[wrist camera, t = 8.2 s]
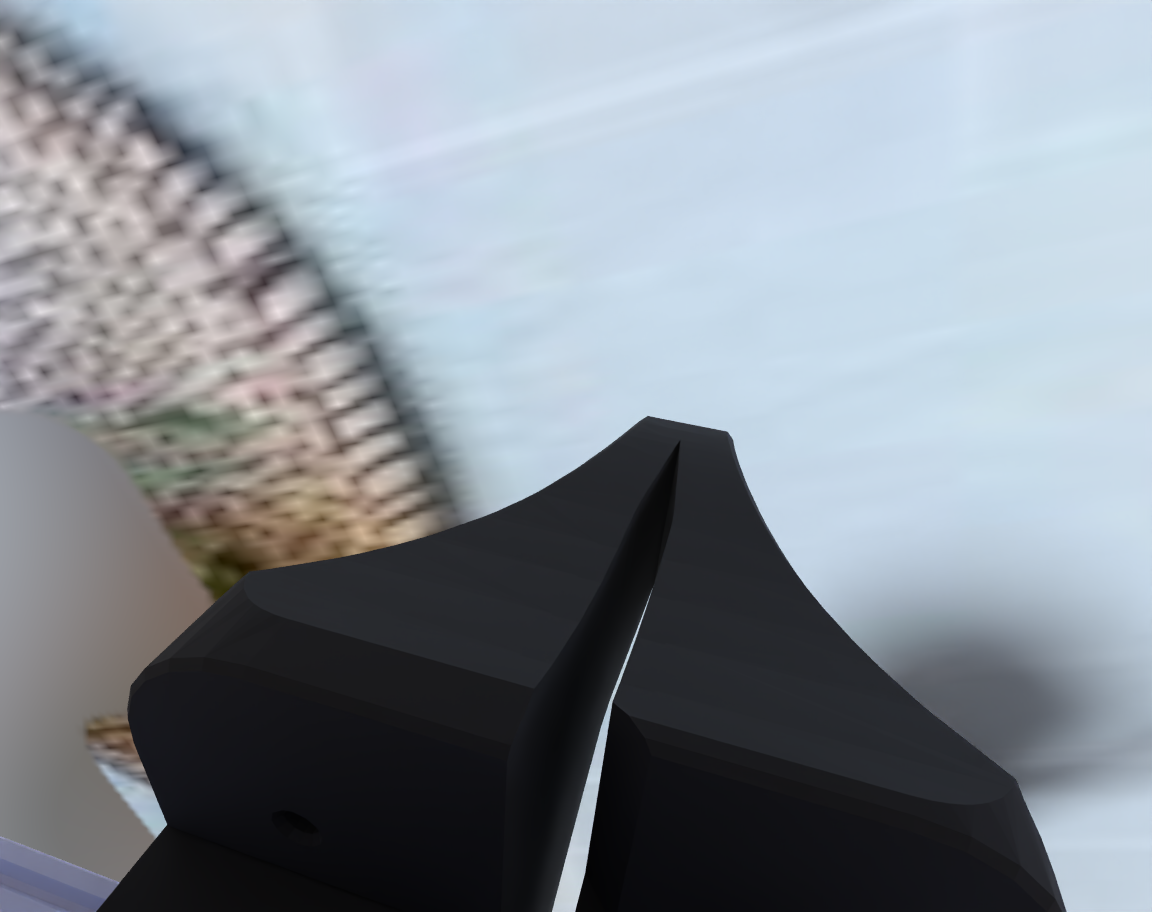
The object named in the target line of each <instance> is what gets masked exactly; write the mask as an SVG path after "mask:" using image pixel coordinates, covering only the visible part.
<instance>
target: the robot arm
mask: <svg viewBox="0 0 1152 912" xmlns="http://www.w3.org/2000/svg"><path fill="white" fill-rule="evenodd" d="M653 585H654V586H653ZM652 588H653V589H652ZM651 591H652V592H651ZM650 593H651V595H650ZM649 596H650V598H649ZM648 599H649V601H648ZM647 601H648V604H647ZM646 604H647V607H646ZM645 607H646V610H645V613H644V616H643V619H642V622H641V625H640V628H639V631H638V634H637V637H636V640H635V643H634V646H633V648H632V651H631V654H630V657H629V660H628V662H627V665H626V668H625V671H624V673H623V676H622V679H621V682H620V684H619V687H618V689H617V692H616V695H615V697H614V700H613V703H612V709H611V715H610V722H609V728H608V734H607V740H606V747H605V753H604V759H603V766H602V772H601V778H600V784H599V791H598V797H597V803H596V809H595V816H594V822H593V828H592V834H591V841H590V847H589V853H588V859H587V866H586V872H585V876H584V880H583V884H582V888H581V892H580V895H579V899H578V903H577V907H576V911H575V912H1066V909H1065V906H1064V903H1063V899H1062V896H1061V893H1060V890H1059V887H1058V884H1057V880H1056V877H1055V874H1054V871H1053V869H1052V866H1051V863H1050V860H1049V858H1048V855H1047V852H1046V850H1045V847H1044V844H1043V842H1042V839H1041V836H1040V834H1039V832H1038V830H1037V828H1036V825H1035V823H1034V821H1033V819H1032V817H1031V814H1030V812H1029V810H1028V808H1027V806H1026V803H1025V801H1024V799H1023V796H1022V794H1021V791H1020V788H1019V786H1018V783H1017V781H1016V779H1015V778H1013V777H1012V776H1011V775H1010V774H1008V773H1007V772H1006V771H1005V770H1003V769H1002V768H1001V767H999V766H998V765H997V764H996V763H994V762H993V761H992V760H990V759H989V758H988V757H987V756H985V755H984V754H983V753H982V752H980V751H979V750H978V749H976V748H975V747H974V746H973V745H971V744H970V743H969V742H968V741H966V740H965V739H964V738H962V737H961V736H960V735H959V734H957V733H956V732H955V731H953V730H952V729H951V728H950V727H948V726H947V725H946V724H945V723H943V722H942V721H941V720H939V719H938V718H937V717H936V716H934V715H933V714H932V713H931V712H929V711H928V710H927V709H926V708H925V707H923V706H922V705H921V704H920V703H919V702H918V701H916V700H915V699H914V698H913V697H912V696H911V695H910V694H909V693H908V692H907V691H905V690H904V689H903V688H902V687H901V686H900V685H899V684H898V683H897V682H896V681H894V680H893V679H892V678H891V677H890V676H889V675H888V674H887V673H886V672H884V671H883V670H882V669H881V668H880V667H879V666H878V665H877V664H876V663H875V662H874V661H873V660H872V659H871V658H870V657H869V656H868V655H867V654H866V653H865V652H864V651H863V650H862V649H861V648H860V647H859V646H858V645H857V644H856V643H855V642H854V641H853V640H852V639H851V638H850V637H849V636H848V635H847V634H846V632H845V631H844V630H843V629H842V628H841V627H840V626H839V625H838V624H837V623H836V622H835V620H834V619H833V618H832V617H831V616H830V615H829V614H828V613H827V612H826V611H825V609H824V608H823V607H822V606H821V605H820V603H819V602H818V601H817V600H816V599H815V597H814V596H813V595H812V594H811V593H810V591H809V590H808V589H807V588H806V586H805V585H804V583H803V582H802V581H801V579H800V578H799V577H798V575H797V574H796V572H795V571H794V570H793V568H792V567H791V565H790V564H789V562H788V561H787V559H786V557H785V556H784V554H783V553H782V551H781V549H780V548H779V546H778V544H777V543H776V541H775V539H774V537H773V536H772V534H771V532H770V531H769V529H768V527H767V525H766V523H765V521H764V519H763V518H762V516H761V514H760V512H759V510H758V507H757V505H756V503H755V501H754V499H753V497H752V495H751V492H750V490H749V488H748V486H747V483H746V481H745V478H744V476H743V473H742V470H741V468H740V465H739V462H738V459H737V456H736V452H735V448H734V443H733V439H732V438H731V436H730V435H729V433H728V432H726V431H721V430H716V429H711V428H706V427H701V426H695V425H690V424H685V423H680V422H675V421H670V420H665V419H660V418H655V417H650V416H647V417H645V418H644V419H642V420H641V421H639V422H638V423H637V424H635V425H634V426H633V427H632V428H631V429H629V430H628V431H627V432H626V433H624V434H623V435H622V436H621V437H619V438H618V439H617V440H615V441H614V442H613V443H612V444H610V445H609V446H608V447H606V448H605V449H604V450H602V451H601V452H599V453H598V454H597V455H595V456H594V457H592V458H591V459H590V460H588V461H587V462H585V463H584V464H582V465H581V466H580V467H578V468H577V469H575V470H574V471H572V472H570V473H569V474H567V475H565V476H564V477H562V478H560V479H559V480H557V481H556V482H554V483H552V484H551V485H549V486H547V487H546V488H544V489H542V490H541V491H539V492H537V493H535V494H533V495H531V496H529V497H527V498H525V499H523V500H521V501H519V502H517V503H514V504H512V505H510V506H508V507H506V508H503V509H501V510H499V511H497V512H494V513H492V514H489V515H487V516H484V517H482V518H479V519H476V520H473V521H470V522H467V523H465V524H462V525H459V526H456V527H453V528H450V529H448V530H445V531H442V532H439V533H436V534H433V535H430V536H427V537H423V538H420V539H416V540H413V541H409V542H405V543H402V544H398V545H394V546H390V547H386V548H382V549H377V550H373V551H369V552H365V553H360V554H355V555H351V556H346V557H341V558H335V559H329V560H323V561H317V562H311V563H304V564H298V565H292V566H286V567H280V568H274V569H267V570H259V571H251V572H249V573H247V574H246V575H245V576H244V577H243V578H242V579H240V580H239V581H238V582H237V583H236V584H235V585H234V586H232V587H231V588H230V589H229V590H228V591H227V592H226V593H225V594H224V595H223V596H222V597H220V598H219V599H218V600H217V601H216V602H215V603H214V604H213V605H212V606H211V607H210V608H209V609H207V610H206V611H205V612H204V613H203V614H202V615H201V616H200V617H199V618H198V619H197V620H196V621H195V622H194V623H193V624H192V625H191V626H189V627H188V628H187V629H186V630H185V631H184V632H183V633H182V634H181V635H180V636H179V637H178V638H177V639H176V640H175V641H174V642H172V643H171V645H169V646H168V647H167V648H166V649H165V650H164V651H163V652H162V653H161V654H160V655H159V656H158V657H157V658H156V659H154V660H153V661H152V662H151V663H150V664H149V665H148V666H147V667H146V668H145V669H144V670H143V671H142V673H141V674H140V675H139V676H138V678H137V679H136V680H135V681H134V683H133V684H132V685H131V688H130V696H129V701H128V708H127V710H128V721H129V725H130V729H131V733H132V737H133V741H134V744H135V747H136V749H137V752H138V754H139V757H140V759H141V762H142V764H143V766H144V769H145V771H146V774H147V776H148V779H149V781H150V783H151V786H152V788H153V791H154V793H155V796H156V798H157V801H158V803H159V805H160V808H161V810H162V813H163V815H164V818H165V820H166V822H167V826H166V827H165V828H164V829H163V831H162V832H161V833H160V834H159V835H158V837H157V838H156V839H155V840H154V842H153V843H152V844H151V845H150V846H149V848H148V849H147V850H146V851H145V853H144V854H143V855H142V856H141V858H140V859H139V860H138V861H137V862H136V864H135V865H134V866H133V867H132V868H131V870H130V871H129V872H128V873H127V875H126V876H125V877H124V878H123V879H122V881H121V882H117V881H115V880H112V879H110V878H107V877H104V876H102V875H99V874H97V873H94V872H92V871H89V870H86V869H84V868H81V867H79V866H76V865H73V864H71V863H68V862H66V861H63V860H60V859H58V858H55V857H53V856H50V855H48V854H45V853H43V852H40V851H38V850H35V849H32V848H30V847H27V846H25V845H22V844H19V843H17V842H14V841H12V840H9V839H6V838H4V837H1V836H0V912H552V909H553V905H554V901H555V898H556V894H557V890H558V886H559V882H560V878H561V874H562V871H563V867H564V863H565V859H566V855H567V852H568V848H569V844H570V840H571V836H572V833H573V829H574V825H575V821H576V818H577V814H578V810H579V806H580V803H581V799H582V795H583V791H584V787H585V784H586V780H587V776H588V773H589V769H590V765H591V762H592V758H593V754H594V751H595V747H596V743H597V739H598V736H599V732H600V728H601V725H602V722H603V719H604V716H605V713H606V710H607V707H608V704H609V701H610V698H611V695H612V693H613V690H614V688H615V685H616V682H617V680H618V677H619V675H620V672H621V669H622V667H623V664H624V662H625V659H626V656H627V654H628V651H629V649H630V646H631V643H632V641H633V638H634V635H635V633H636V630H637V628H638V625H639V622H640V620H641V617H642V615H643V612H644V609H645Z"/></svg>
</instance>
